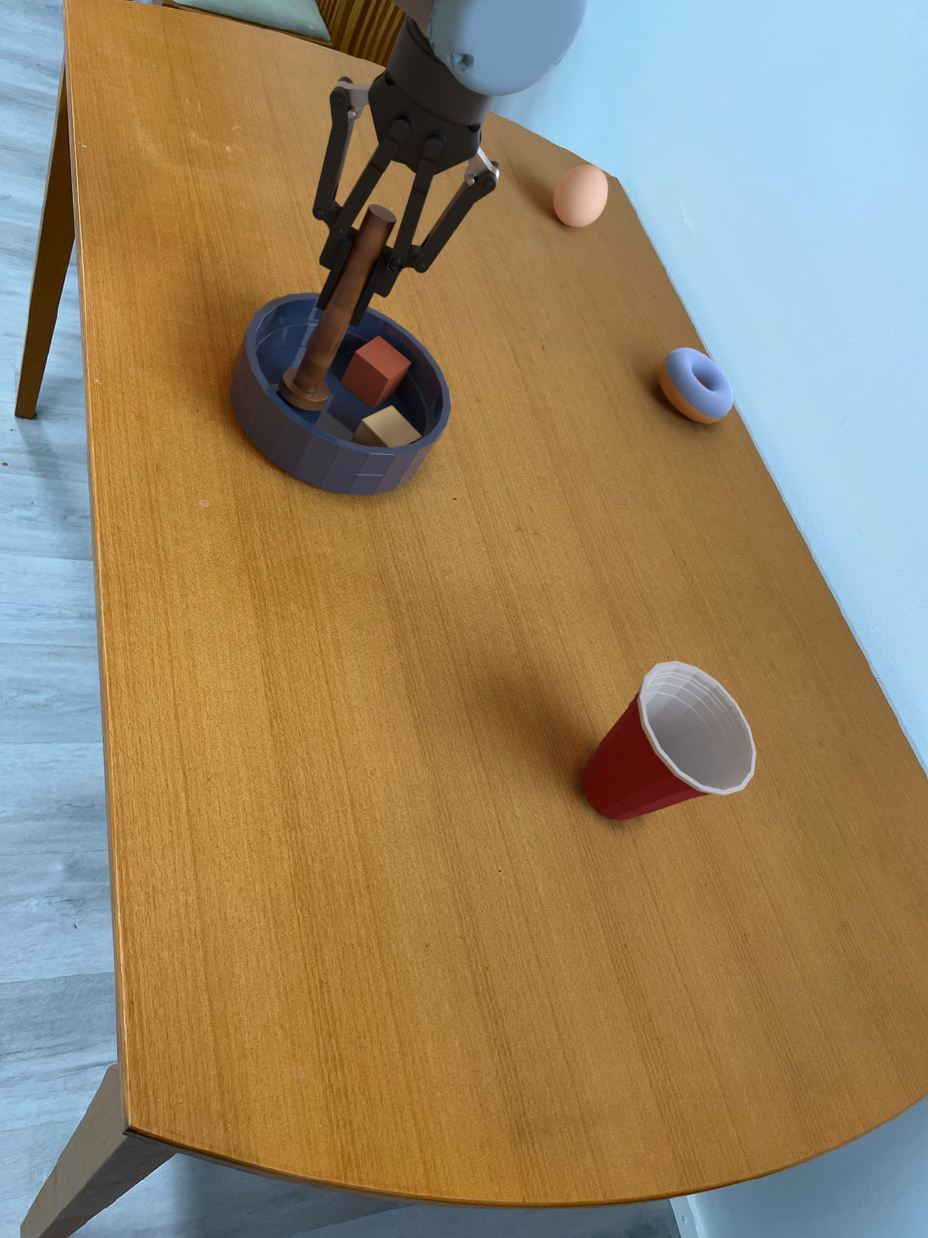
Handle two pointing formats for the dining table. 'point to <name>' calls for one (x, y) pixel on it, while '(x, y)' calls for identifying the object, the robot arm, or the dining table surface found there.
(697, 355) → the doughnut
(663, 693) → the plastic cup
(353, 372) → the terracotta block
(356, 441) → the birch block
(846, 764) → the dining table surface
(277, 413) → the bowl
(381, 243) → the muddler
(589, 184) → the egg
